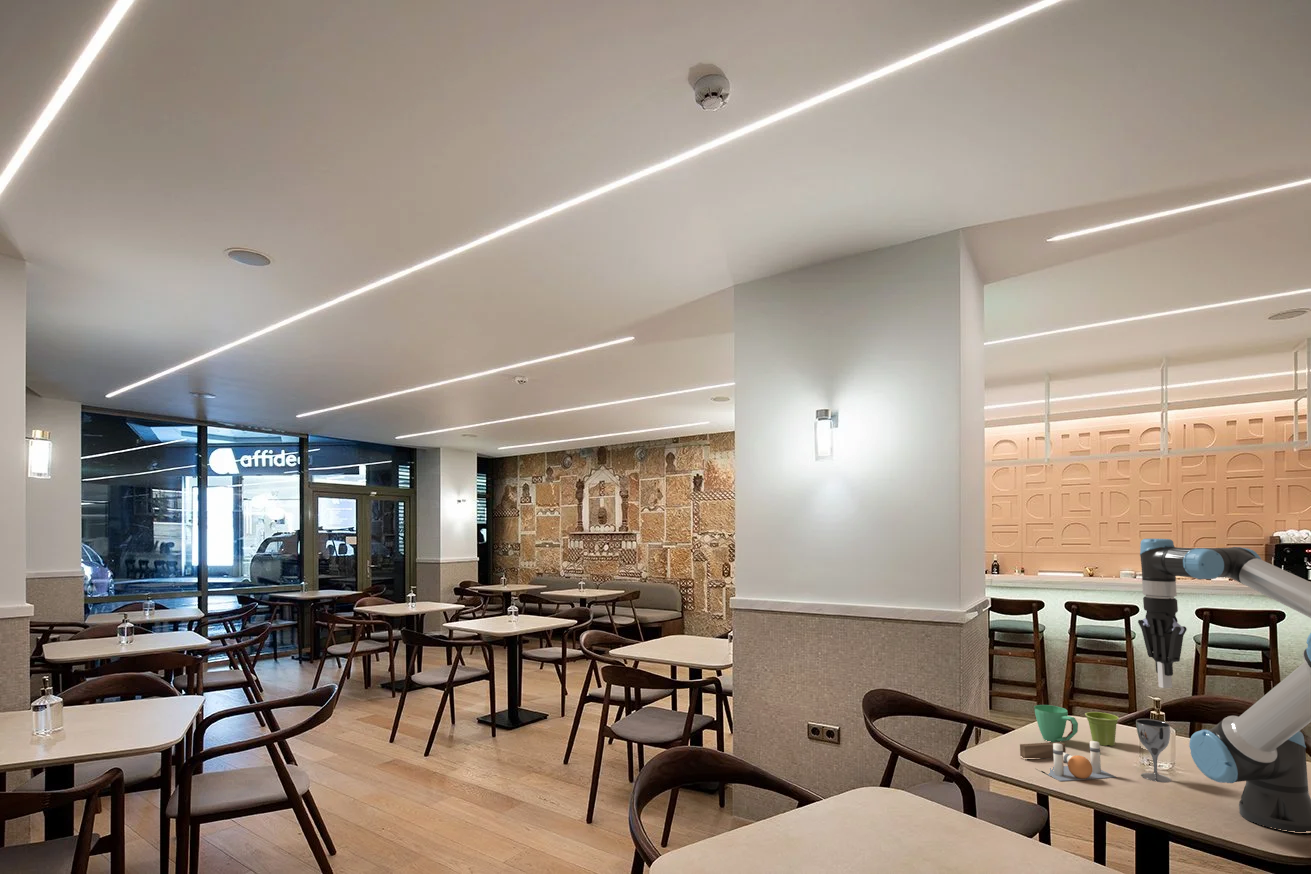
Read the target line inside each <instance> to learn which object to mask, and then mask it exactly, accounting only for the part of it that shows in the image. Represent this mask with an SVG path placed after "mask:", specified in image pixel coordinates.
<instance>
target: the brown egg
mask: <svg viewBox="0 0 1311 874" xmlns="http://www.w3.org/2000/svg"><path fill="white" fill-rule="evenodd" d="M1072 756H1073V757H1071V758H1070V759H1069V761H1068V763H1067V766H1068V769H1069V771H1070V772H1071V774H1072V775H1074V776H1075V777H1077V778H1080V779H1085V778H1088V777H1089V776H1090V775H1091V774H1092V765H1091V761H1090V760H1089V759H1088V758H1086V757H1085V756H1082V755H1077V754H1076V755H1072Z"/></svg>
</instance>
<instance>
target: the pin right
mask: <svg viewBox="0 0 1311 874" xmlns="http://www.w3.org/2000/svg"><path fill="white" fill-rule="evenodd" d="M1100 746H1101V745H1099V742H1096V741H1092V740H1090V741H1089V751H1090V752H1089V753H1090V758H1089V759H1090V763H1091V765H1092V773H1096V774H1101V770H1102V766H1101V765H1102V764H1101V747H1100Z"/></svg>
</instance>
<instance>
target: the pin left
mask: <svg viewBox="0 0 1311 874" xmlns="http://www.w3.org/2000/svg"><path fill="white" fill-rule="evenodd" d="M1053 755H1054V758H1053V767H1054V774H1055V775H1056V776H1064V766H1065V765H1064V761H1063V745H1062V744H1059V743H1053Z"/></svg>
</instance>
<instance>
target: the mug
mask: <svg viewBox="0 0 1311 874" xmlns="http://www.w3.org/2000/svg"><path fill="white" fill-rule="evenodd" d="M1033 710H1034V715H1035V719H1036V723H1037V726H1038V728H1039V732H1040V734H1041V736H1042V738H1043V739H1042V740H1044V739H1045V740H1047V741H1051V742H1060V741H1061V742H1065V741H1071V739H1073V737H1074V736H1075V735H1076V734H1077V733H1078V731H1079V723H1078V721H1077V719H1076V717H1074V716H1070V715H1068V714H1069V712H1068V710H1067V709H1066V708H1064V707H1061V706H1057V705H1051V704H1037V705H1034V706H1033ZM1067 721H1069V722H1070V724H1071V731H1070V732H1068V734H1067V735H1066V736H1064V734H1065V730H1066V726H1067ZM1045 740H1044V741H1045ZM1047 741H1046V742H1047Z"/></svg>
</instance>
